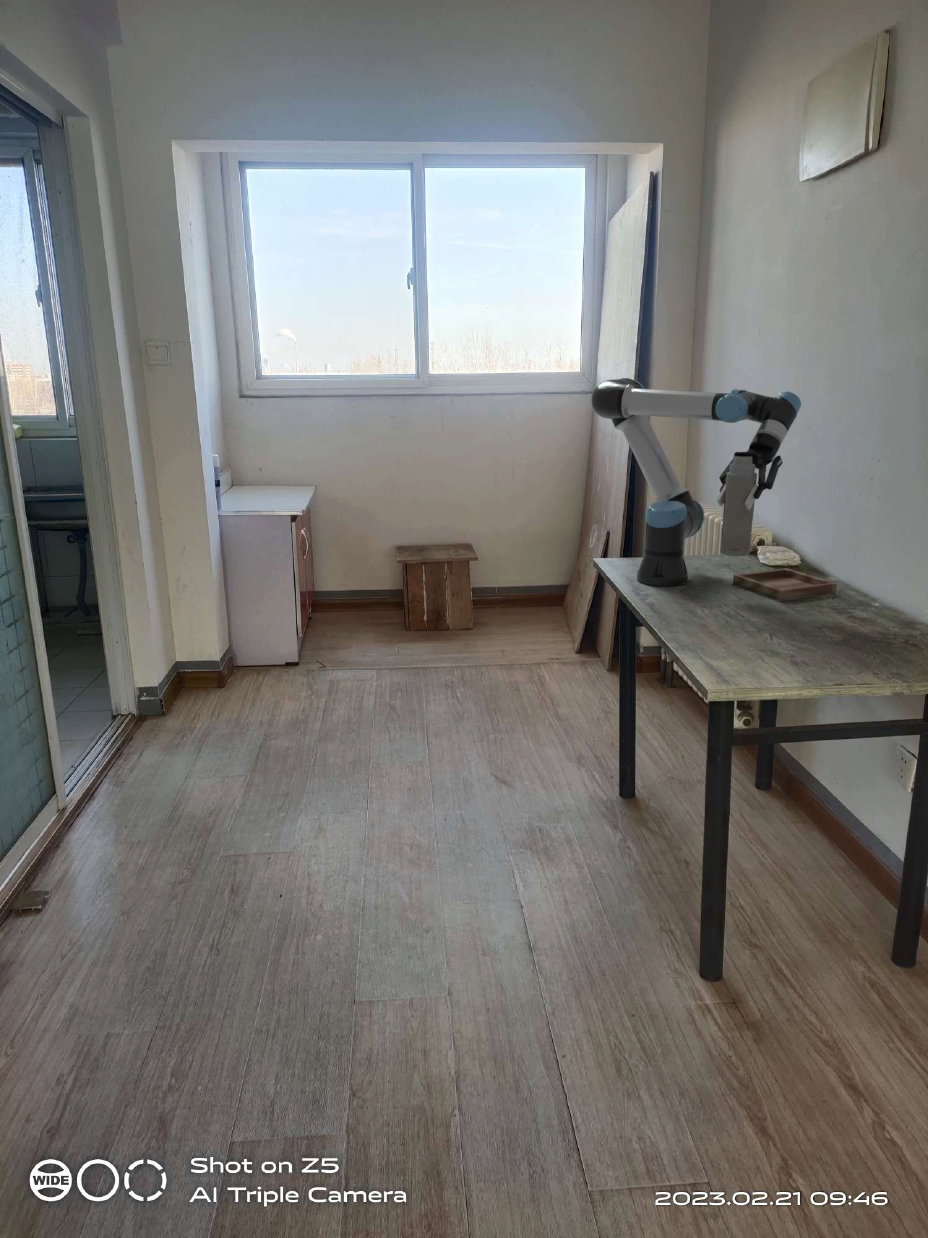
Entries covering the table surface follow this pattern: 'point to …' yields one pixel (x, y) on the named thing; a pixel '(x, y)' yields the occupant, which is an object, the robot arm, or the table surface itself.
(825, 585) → the walnut tray
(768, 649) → the table surface
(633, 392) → the robot arm
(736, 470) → the thermos bottle
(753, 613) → the table surface
